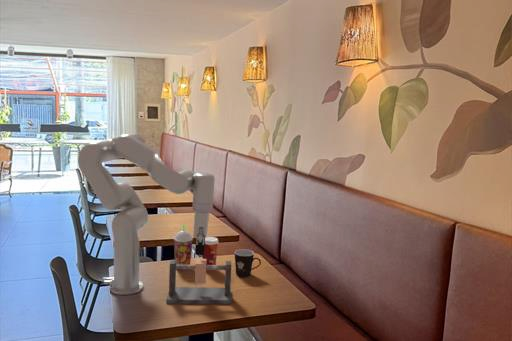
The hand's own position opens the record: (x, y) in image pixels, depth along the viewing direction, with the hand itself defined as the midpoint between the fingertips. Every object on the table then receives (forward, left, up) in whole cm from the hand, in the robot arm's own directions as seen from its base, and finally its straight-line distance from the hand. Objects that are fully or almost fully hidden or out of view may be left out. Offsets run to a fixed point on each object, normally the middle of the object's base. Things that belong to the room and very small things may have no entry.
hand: (200, 250), depth 163 cm
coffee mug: (+19, +22, -19) cm, 35 cm away
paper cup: (+3, +29, -19) cm, 35 cm away
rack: (0, 0, -19) cm, 19 cm away
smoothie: (-9, +30, -19) cm, 36 cm away
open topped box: (0, 0, -12) cm, 12 cm away
